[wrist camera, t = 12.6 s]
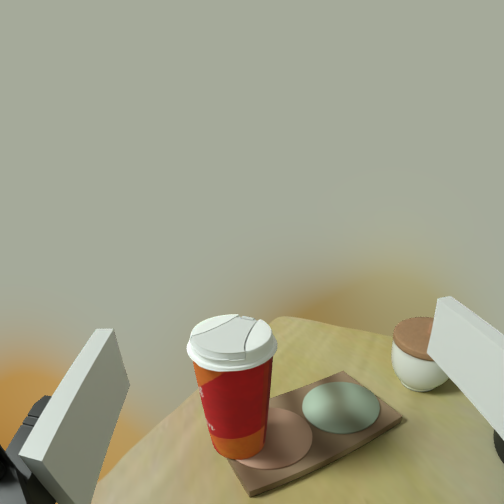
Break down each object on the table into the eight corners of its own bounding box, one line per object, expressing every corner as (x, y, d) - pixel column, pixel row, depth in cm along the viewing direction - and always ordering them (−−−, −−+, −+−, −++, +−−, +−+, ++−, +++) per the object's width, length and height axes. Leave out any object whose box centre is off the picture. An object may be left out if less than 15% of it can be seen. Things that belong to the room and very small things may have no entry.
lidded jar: (426, 354, 45) (438, 302, 43) (464, 388, 35) (483, 332, 33) (372, 368, 44) (381, 312, 41) (407, 411, 34) (425, 350, 31)
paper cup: (226, 410, 35) (217, 305, 31) (286, 429, 32) (291, 321, 28) (188, 450, 28) (164, 341, 25) (253, 478, 25) (249, 368, 21)
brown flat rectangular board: (342, 377, 42) (343, 369, 42) (400, 422, 32) (403, 413, 32) (207, 423, 34) (206, 415, 34) (249, 497, 24) (249, 490, 24)
